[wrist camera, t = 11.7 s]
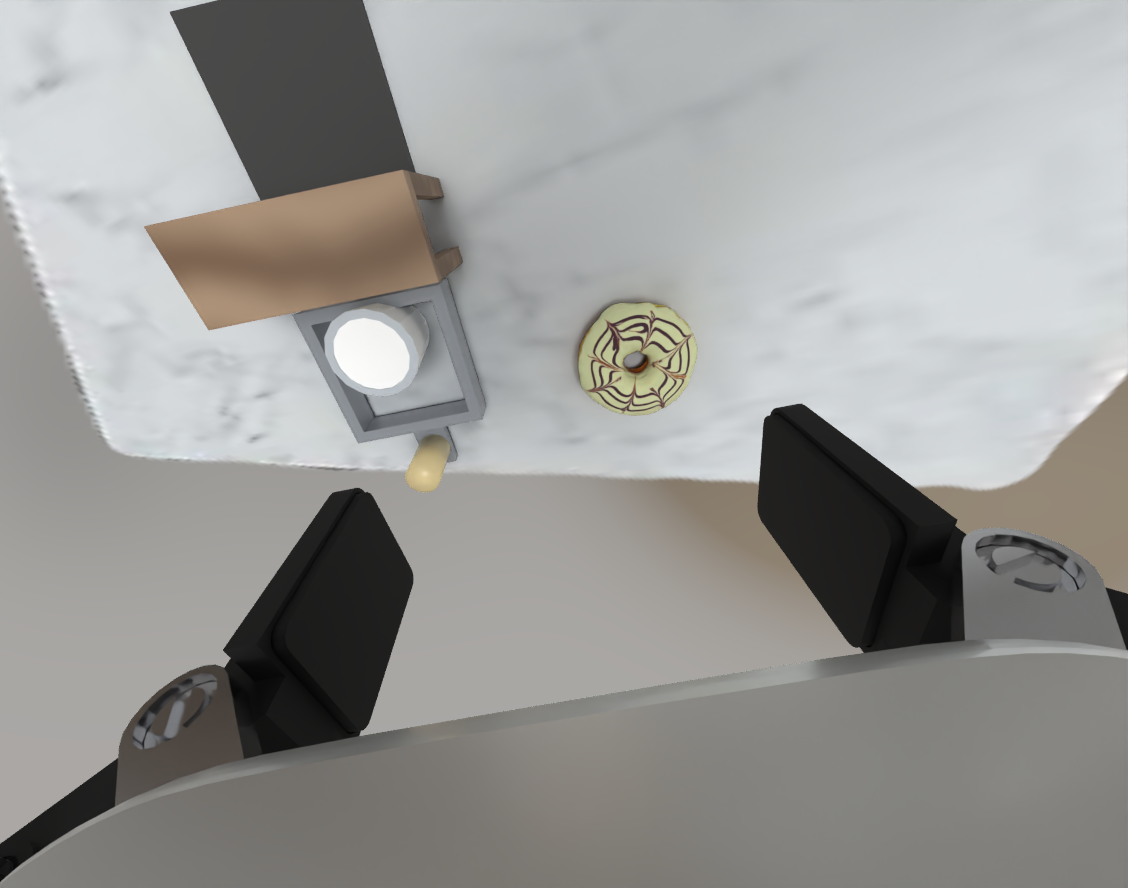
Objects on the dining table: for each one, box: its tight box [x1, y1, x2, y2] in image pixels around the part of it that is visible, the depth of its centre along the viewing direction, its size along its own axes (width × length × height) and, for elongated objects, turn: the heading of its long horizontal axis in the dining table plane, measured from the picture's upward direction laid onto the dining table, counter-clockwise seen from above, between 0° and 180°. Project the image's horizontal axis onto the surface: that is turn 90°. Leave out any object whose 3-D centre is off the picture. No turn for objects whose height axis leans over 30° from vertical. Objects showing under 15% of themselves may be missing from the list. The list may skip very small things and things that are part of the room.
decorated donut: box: [578, 302, 697, 416], centre depth 38 cm, size 10×11×4 cm
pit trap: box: [170, 0, 415, 201], centre depth 29 cm, size 11×12×1 cm
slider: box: [293, 279, 486, 492], centre depth 35 cm, size 22×12×6 cm, turn 11°
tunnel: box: [144, 170, 462, 330], centre depth 29 cm, size 6×15×10 cm, turn 100°
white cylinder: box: [324, 303, 430, 397], centre depth 34 cm, size 7×7×7 cm
